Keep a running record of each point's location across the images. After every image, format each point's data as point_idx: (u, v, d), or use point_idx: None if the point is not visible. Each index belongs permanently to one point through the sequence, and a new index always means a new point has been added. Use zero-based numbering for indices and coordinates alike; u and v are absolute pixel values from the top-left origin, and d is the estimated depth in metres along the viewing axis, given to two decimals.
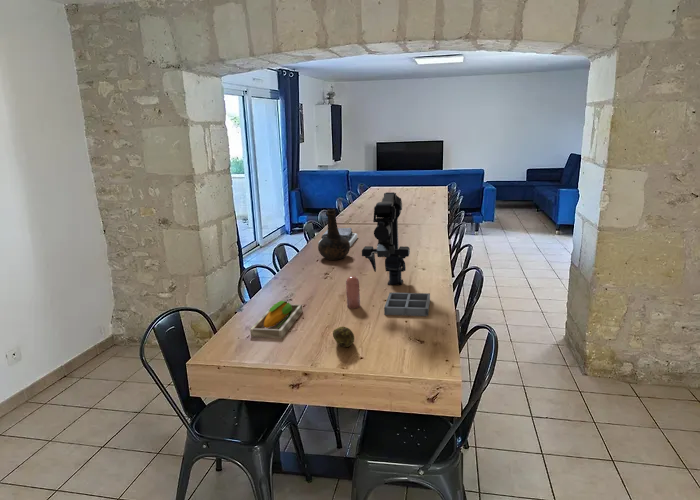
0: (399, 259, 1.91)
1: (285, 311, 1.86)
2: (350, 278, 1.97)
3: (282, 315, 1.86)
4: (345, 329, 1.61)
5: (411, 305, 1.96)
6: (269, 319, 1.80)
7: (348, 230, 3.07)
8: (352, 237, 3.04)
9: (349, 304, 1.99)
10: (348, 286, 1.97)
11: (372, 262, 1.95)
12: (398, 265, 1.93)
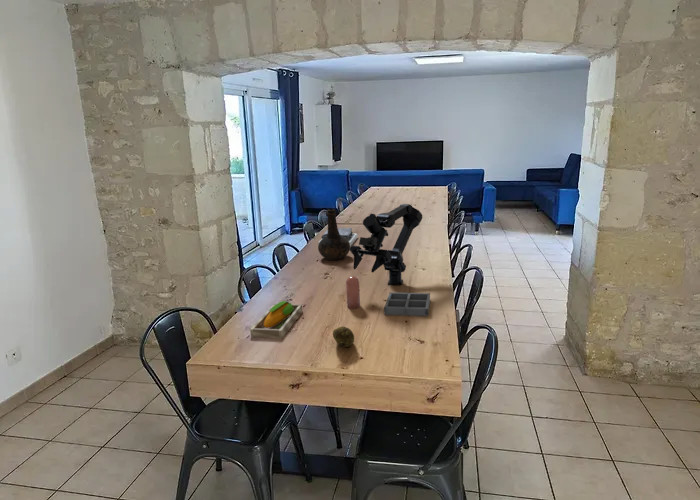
0: (377, 257, 2.01)
1: (286, 311, 1.86)
2: (350, 278, 1.97)
3: (283, 315, 1.85)
4: (345, 329, 1.61)
5: (411, 305, 1.96)
6: (269, 319, 1.79)
7: (348, 230, 3.07)
8: (352, 237, 3.04)
9: (349, 304, 1.99)
10: (348, 286, 1.97)
11: (355, 258, 2.07)
12: (374, 264, 2.01)
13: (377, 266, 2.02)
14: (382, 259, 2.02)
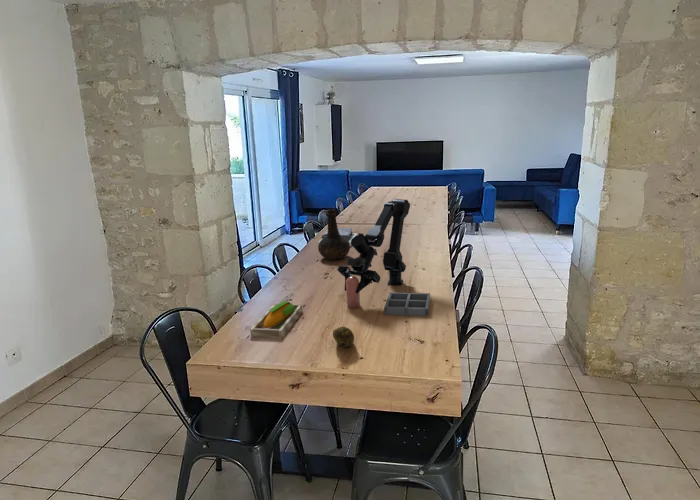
0: (361, 278, 1.97)
1: (286, 312, 1.86)
2: (350, 278, 1.97)
3: (283, 316, 1.85)
4: (345, 329, 1.61)
5: (411, 305, 1.96)
6: (268, 319, 1.79)
7: (348, 230, 3.07)
8: (352, 237, 3.04)
9: (349, 304, 1.99)
10: (348, 286, 1.97)
11: None
12: (359, 285, 1.97)
13: (362, 287, 1.97)
14: (367, 279, 1.97)
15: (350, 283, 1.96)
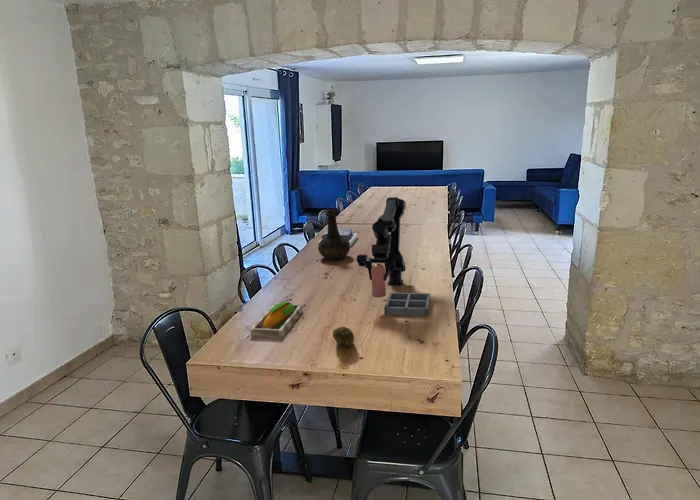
0: (388, 264, 1.90)
1: (286, 312, 1.85)
2: (377, 266, 1.88)
3: (283, 316, 1.85)
4: (345, 329, 1.61)
5: (411, 305, 1.96)
6: (268, 320, 1.79)
7: (348, 230, 3.07)
8: (352, 237, 3.04)
9: (377, 293, 1.90)
10: (376, 274, 1.88)
11: (369, 268, 1.92)
12: (386, 272, 1.89)
13: (388, 273, 1.91)
14: (392, 265, 1.91)
15: (378, 271, 1.88)
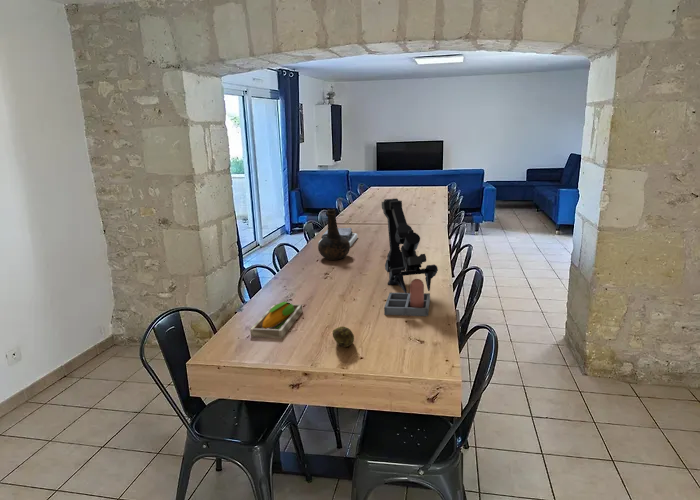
0: (429, 274, 1.90)
1: (286, 312, 1.85)
2: (418, 281, 1.88)
3: (282, 316, 1.85)
4: (345, 329, 1.61)
5: None
6: (267, 320, 1.79)
7: (348, 230, 3.07)
8: (352, 237, 3.04)
9: None
10: (418, 289, 1.87)
11: (402, 282, 1.89)
12: (429, 282, 1.90)
13: None
14: (431, 275, 1.93)
15: (420, 286, 1.87)
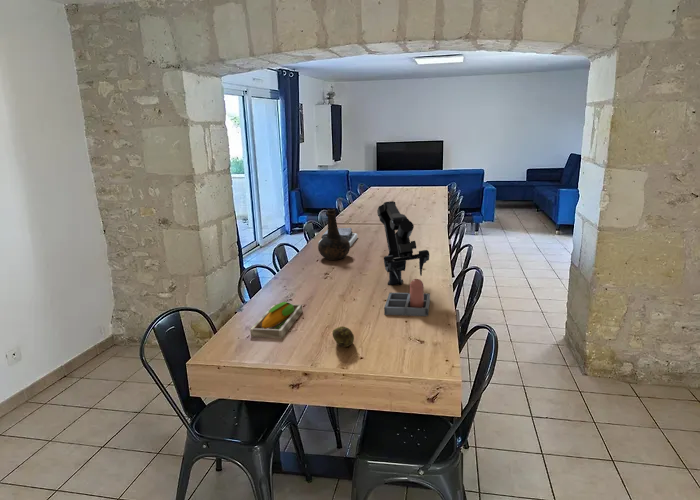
0: (421, 260, 1.98)
1: (285, 312, 1.85)
2: (417, 281, 1.88)
3: (282, 316, 1.84)
4: (345, 329, 1.61)
5: None
6: (267, 320, 1.79)
7: (348, 230, 3.07)
8: (352, 237, 3.04)
9: None
10: (418, 289, 1.87)
11: (395, 268, 1.98)
12: (421, 267, 1.98)
13: None
14: (424, 260, 2.00)
15: (420, 286, 1.87)
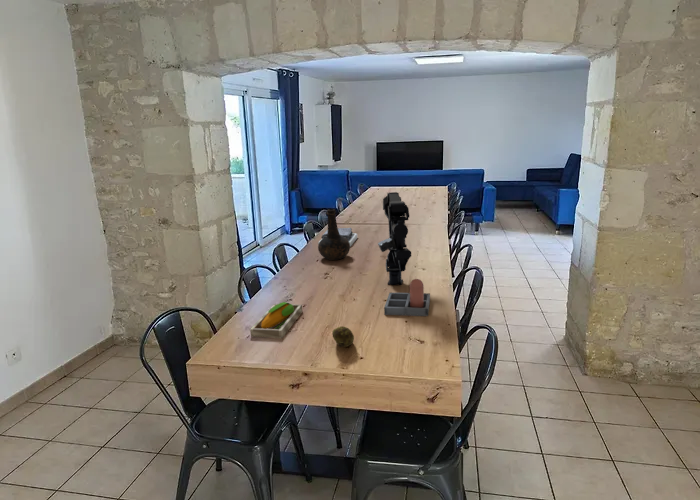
0: (397, 258, 1.98)
1: (285, 313, 1.85)
2: (417, 281, 1.88)
3: (282, 317, 1.84)
4: (344, 329, 1.61)
5: None
6: (266, 320, 1.79)
7: (348, 230, 3.07)
8: (352, 237, 3.04)
9: None
10: (418, 289, 1.87)
11: (393, 255, 2.09)
12: (399, 264, 1.99)
13: (403, 264, 1.99)
14: None
15: (420, 286, 1.87)
